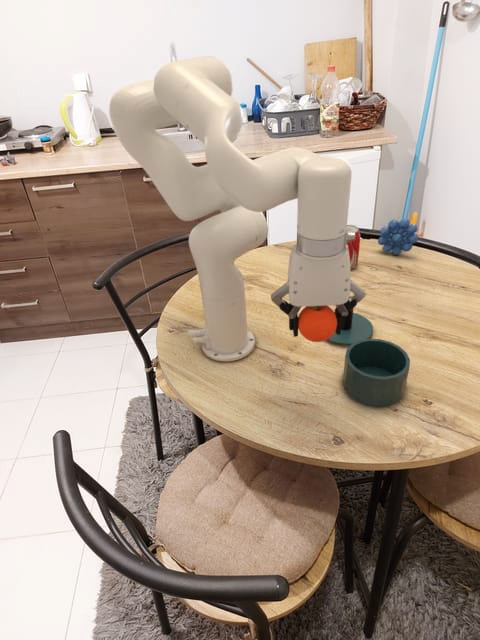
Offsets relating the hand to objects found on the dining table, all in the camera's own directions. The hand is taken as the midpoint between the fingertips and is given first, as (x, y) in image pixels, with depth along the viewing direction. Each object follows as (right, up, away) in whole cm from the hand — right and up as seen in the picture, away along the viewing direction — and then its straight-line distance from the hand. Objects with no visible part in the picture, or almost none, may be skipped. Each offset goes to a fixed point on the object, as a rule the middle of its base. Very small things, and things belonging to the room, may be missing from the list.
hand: (315, 330), depth 77 cm
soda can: (+18, +18, +52) cm, 58 cm away
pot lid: (+12, 0, +25) cm, 28 cm away
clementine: (0, -1, 0) cm, 1 cm away
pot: (+14, -12, +10) cm, 21 cm away
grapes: (+35, +23, +56) cm, 70 cm away
